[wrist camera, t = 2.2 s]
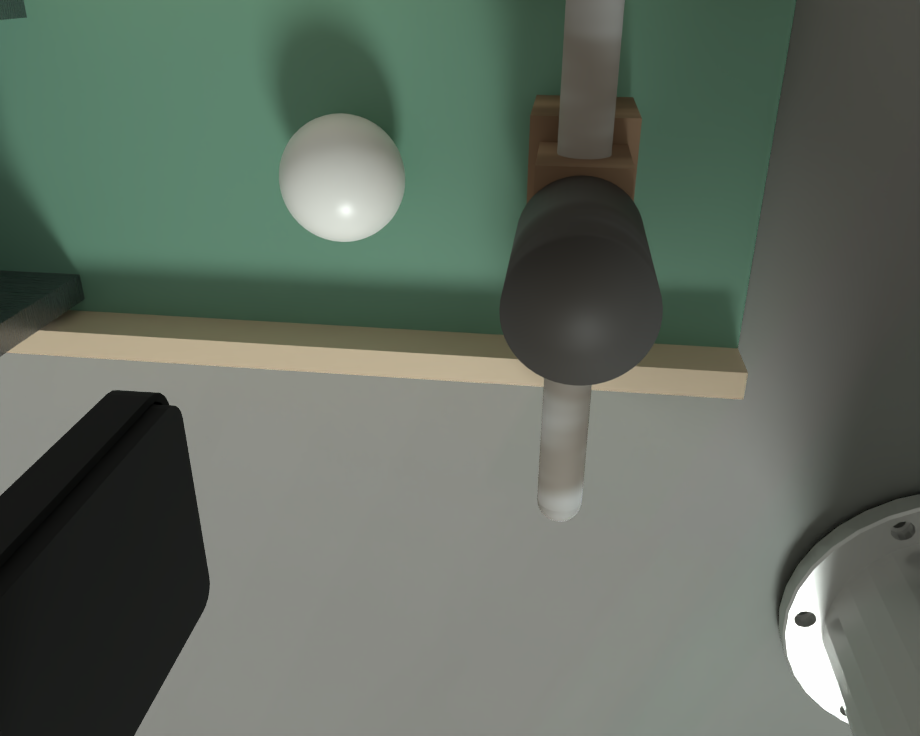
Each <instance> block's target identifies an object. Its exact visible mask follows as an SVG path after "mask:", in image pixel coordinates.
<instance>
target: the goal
mask: <svg viewBox="0 0 920 736" xmlns="http://www.w3.org/2000/svg"><path fill="white" fill-rule="evenodd" d="M17 18H27V15H26V10H25V5H24V0H0V20H6V19H17ZM84 299H85V298H84V293H83V288H82V283H81V278H80V274H62V273H42V272H23V271H4V270H0V356H2V355H3V354H5V353H6V352H8V351H9V350H11V349H12V348H13V347H15V346H16V345H18V344H19V343H21V342H22V341H24V340H25V339H27V338H28V337H30V336H31V335H33V334H34V333H36V332H37V331H39V330H40V329H41V328H43V327H44V326H46V325H47V324H49V323H50V322H52V321H53V320H55V319H56V318H58V317H59V316H61V315H62V314H64V313H65V312H66V311H68V310H69V309H71V308H72V307H74V306H75V305H77V304H78V303H80V302H81V301H83V300H84Z"/></svg>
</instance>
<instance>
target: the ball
mask: <svg viewBox="0 0 920 736" xmlns="http://www.w3.org/2000/svg"><path fill="white" fill-rule="evenodd" d="M279 185H280V191H281V194H282V198H283V200H284V202H285V205H286V207H287V208H288V210H289V212H290V213H291V215H292V216H293V217H294V218H295V220H296V221H297V222H298V223H299V224H300V225H301V226H303V227H304V228H305V229H306V230H308V231H309V232H311V233H312V234H314V235H316V236H318V237H321V238H324V239H327V240H331V241H339V242H351V241H357V240H361V239H364V238H367V237H369V236H371V235H373V234H375V233H377V232H378V231H380V230H381V229H382V228H383V227H384V226H386V225H387V224H388V223H389V222H390V220H391V219H392V218H393V217H394V215H395V214H396V212H397V210H398V208H399V206H400V204H401V201H402V198H403V195H404V190H405V169H404V164H403V160H402V158H401V155H400V152H399V150H398V148H397V146H396V145H395V143H394V142H393V140H392V139H391V138H390V137H389V136H388V134H387V133H386V132H385V131H384V130H382V129H381V128H380V127H379V126H377V125H376V124H375V123H373V122H371V121H369V120H367V119H365V118H362V117H360V116H356V115H352V114H343V113H337V114H329V115H324V116H321V117H318V118H315V119H313V120H311V121H309V122H308V123H306V124H305V125H304V126H302V127H301V128H300V129H299V130H298V131H297V132H296V133H295V134H294V135H293V136H292V137H291V139H290V140H289V142H288V144H287V145H286V147H285V149H284V152H283V154H282V157H281V161H280V166H279Z"/></svg>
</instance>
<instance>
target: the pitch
mask: <svg viewBox="0 0 920 736" xmlns="http://www.w3.org/2000/svg"><path fill="white" fill-rule="evenodd" d="M24 5H25V10H26V15H27V18H17V19H6V20H0V270H4V271H23V272H42V273H62V274H80V278H81V283H82V288H83V293H84V298H85V299H84V300H83V301H81V302H80V303H78V304H77V305H75V306H74V307H72V308H71V309H69V310H68V311H66V312H65V313H64V314H62V315H61V316H59V317H58V318H56V319H55V320H53V321H52V322H50V323H49V324H47V325H46V326H44V327H43V328H41V329H40V330H39V331H37V332H36V333H34V334H33V335H31V336H30V337H28V338H27V339H25V340H24V341H22V342H21V343H19V344H18V345H16V346H15V347H13V348H12V349H11V350H9V351H8V352H6V353H21V354H37V355H53V356H68V357H84V358H100V359H115V360H131V361H147V362H162V363H178V364H194V365H209V366H225V367H241V368H256V369H272V370H288V371H303V372H319V373H335V374H350V375H366V376H382V377H397V378H413V379H429V380H444V381H460V382H476V383H491V384H507V385H523V386H538V387H544V378H543V377H541V376H539V375H537V374H536V373H534V372H533V371H531V370H530V369H528V368H527V367H526V366H525V365H524V364H523V363H521V362H520V361H519V359H518V358H517V357H516V356H515V355H514V353H513V352H512V350H511V349H510V347H509V346H508V344H507V342H506V340H505V338H504V335H503V332H502V329H501V323H500V313H499V308H500V299H501V294H502V290H503V286H504V281H505V277H506V273H507V268H508V264H509V260H510V255H511V251H512V247H513V242H514V238H515V234H516V229H517V225H518V221H519V218H520V216H521V213H522V211H523V209H524V208H525V206H526V203H527V180H528V156H529V133H530V115H531V111H532V108H533V105H534V102H535V99H536V95H560V93H561V76H562V58H563V41H564V24H565V6H566V0H24ZM795 6H796V0H625V4H624V15H623V27H622V38H621V50H620V62H619V73H618V85H617V97H633V98H634V100H635V103H636V105H637V108H638V110H639V112H640V115H641V117H642V124H641V134H640V144H639V154H638V164H637V174H636V184H635V194H634V203H635V205H636V206H637V208H638V210H639V212H640V215H641V217H642V221H643V225H644V229H645V233H646V237H647V241H648V245H649V249H650V253H651V257H652V260H653V264H654V268H655V272H656V276H657V280H658V284H659V288H660V292H661V296H662V304H663V315H662V322H661V328H660V331H659V333H658V336H657V339H656V341H655V343H654V344H653V346H652V348H651V349H650V351H649V352H648V354H647V355H646V356H645V357H644V358H643V359H642V360H641V362H639V363H638V364H637V365H636V366H635V367H634V368H632V369H631V370H629V371H628V372H626V373H625V374H623V375H621V376H619V377H617V378H615V379H613V380H610V381H607V382H604V383H599V384H595V385H592V388H591V390H601V391H617V392H632V393H648V394H664V395H679V396H695V397H711V398H726V399H742V400H743V398H744V393H745V387H746V381H747V376H748V372H747V370H746V367H745V365H744V362H743V360H742V358H741V355H740V353H739V350H738V343H739V337H740V331H741V326H742V320H743V314H744V308H745V302H746V296H747V290H748V284H749V278H750V272H751V266H752V260H753V254H754V249H755V243H756V237H757V231H758V225H759V219H760V213H761V207H762V201H763V195H764V189H765V183H766V178H767V172H768V166H769V160H770V154H771V148H772V142H773V136H774V130H775V124H776V118H777V112H778V106H779V101H780V95H781V89H782V83H783V77H784V71H785V65H786V59H787V53H788V47H789V41H790V35H791V29H792V24H793V18H794V12H795ZM337 113H343V114H352V115H356V116H360V117H362V118H365V119H367V120H369V121H371V122H373V123H375V124H376V125H377V126H379V127H380V128H381V129H382V130H384V131H385V132H386V133H387V134H388V136H389V137H390V138H391V139H392V140H393V142H394V143H395V145H396V146H397V148H398V150H399V152H400V155H401V158H402V160H403V164H404V169H405V190H404V195H403V198H402V201H401V204H400V206H399V208H398V210H397V212H396V214H395V215H394V217H393V218H392V219H391V220H390V222H389V223H388V224H387V225H386V226H384V227H383V228H382V229H381V230H380V231H378V232H377V233H375V234H373V235H371V236H369V237H367V238H364V239H361V240H357V241H351V242H339V241H331V240H327V239H324V238H321V237H318V236H316V235H314V234H312V233H311V232H309V231H308V230H306V229H305V228H304V227H303V226H301V225H300V224H299V223H298V222H297V221H296V220H295V218H294V217H293V216H292V215H291V213H290V212H289V210H288V208H287V207H286V205H285V202H284V200H283V198H282V194H281V191H280V185H279V166H280V161H281V157H282V154H283V152H284V149H285V147H286V145H287V144H288V142H289V140H290V139H291V137H292V136H293V135H294V134H295V133H296V132H297V131H298V130H299V129H300V128H301V127H302V126H304V125H305V124H306V123H308V122H309V121H311V120H313V119H315V118H318V117H321V116H324V115H329V114H337Z"/></svg>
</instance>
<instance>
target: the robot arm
mask: <svg viewBox="0 0 920 736" xmlns="http://www.w3.org/2000/svg"><path fill="white" fill-rule="evenodd" d="M209 586H210V581H209V573H208V567H207V561H206V555H205V549H204V543H203V537H202V531H201V525H200V519H199V513H198V507H197V501H196V495H195V489H194V483H193V477H192V471H191V465H190V459H189V453H188V447H187V441H186V435H185V429H184V423H183V418H182V414H181V411H180V410H179V408H178V407H176V406H171V405H169V403H168V401H167V399H166V398H165V396H164V395H162V394H161V393H152V392H136V391H120V390H115V391H111V392H110V393H108V394H107V395H106V396H105V397H104V398H103V399H101V400H100V401H99V402H98V403H97V404H96V405H95V406H94V407H93V408H92V409H91V410H90V411H89V412H88V413H87V414H86V415H85V416H84V417H83V418H82V419H80V420H79V421H78V422H77V423H76V424H75V425H74V426H73V427H72V428H71V429H70V430H69V431H68V432H67V433H66V434H65V435H64V436H63V437H62V438H61V439H60V440H58V441H57V442H56V443H55V444H54V445H53V446H52V447H51V448H50V449H49V450H48V451H47V452H46V453H45V454H44V455H43V456H42V457H41V458H40V459H39V460H37V461H36V462H35V463H34V464H33V465H32V466H31V467H30V468H29V469H28V470H27V471H26V472H25V473H24V474H23V475H22V476H21V477H20V478H19V479H18V480H17V481H15V482H14V483H13V484H12V485H11V486H10V487H9V488H8V489H7V490H6V491H5V492H4V493H3V494H2V495H1V496H0V736H134V735H135V733H136V731H137V729H138V727H139V726H140V724H141V722H142V720H143V718H144V717H145V715H146V713H147V711H148V709H149V708H150V706H151V704H152V702H153V701H154V699H155V697H156V695H157V693H158V692H159V690H160V688H161V686H162V684H163V683H164V681H165V679H166V677H167V675H168V674H169V672H170V670H171V668H172V666H173V665H174V663H175V661H176V659H177V657H178V656H179V654H180V652H181V650H182V648H183V647H184V645H185V643H186V641H187V639H188V638H189V636H190V634H191V632H192V630H193V629H194V627H195V625H196V623H197V621H198V620H199V618H200V616H201V614H202V612H203V611H204V608H205V606H206V603H207V600H208V595H209ZM779 633H780V638H781V642H782V646H783V651H784V654H785V657H786V659H787V662H788V665H789V667H790V670H791V673H792V675H793V676H794V678H795V679H796V681H797V682H798V684H799V685H800V686H801V688H802V689H803V691H804V692H805V693H806V694H807V695H808V696H809V697H810V698H811V699H812V700H813V701H814V702H816V703H817V704H818V705H819V706H820V707H821V708H822V709H824V710H825V711H827V712H828V713H830V714H831V715H833V716H834V717H836V718H838V719H840V720H841V721H844V722H846V723H848V724H849V725H850V728H851V731H852V734H853V736H920V494H918V495H913V496H909V497H904V498H900V499H896V500H893V501H890V502H888V503H885V504H883V505H880V506H877V507H875V508H872V509H869V510H867V511H865V512H863V513H861V514H859V515H857V516H856V517H854V518H852V519H850V520H849V521H847V522H845V523H843V524H841V525H840V526H838V527H837V528H836V529H834V530H833V531H832V532H831V533H829V534H828V535H827V536H825V537H824V538H823V539H822V540H820V541H819V542H818V543H817V544H816V545H815V546H814V547H813V548H812V549H811V550H810V551H809V553H808V554H807V555H806V556H805V557H804V558H803V559H802V561H801V562H800V563H799V564H798V565H797V567H796V569H795V571H794V573H793V574H792V576H791V578H790V580H789V581H788V583H787V585H786V587H785V591H784V594H783V597H782V601H781V604H780V608H779Z"/></svg>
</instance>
